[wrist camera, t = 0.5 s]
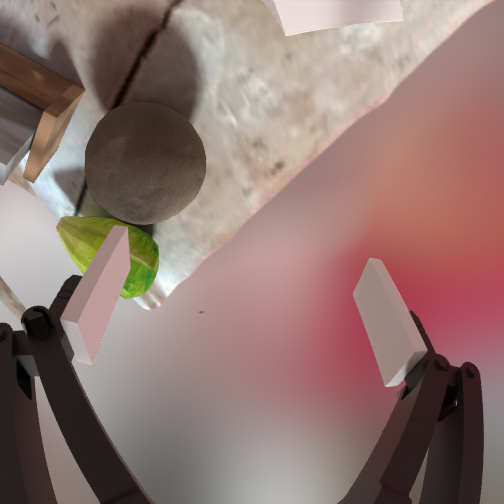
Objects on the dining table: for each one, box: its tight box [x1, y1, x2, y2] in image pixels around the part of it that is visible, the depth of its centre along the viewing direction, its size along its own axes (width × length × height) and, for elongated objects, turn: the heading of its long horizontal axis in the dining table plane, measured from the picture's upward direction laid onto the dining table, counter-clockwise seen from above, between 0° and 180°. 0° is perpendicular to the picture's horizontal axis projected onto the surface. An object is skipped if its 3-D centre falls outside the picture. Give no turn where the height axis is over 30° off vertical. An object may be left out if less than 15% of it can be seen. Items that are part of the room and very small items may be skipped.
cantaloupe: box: [85, 102, 206, 225], centre depth 32 cm, size 14×14×15 cm
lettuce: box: [56, 216, 159, 299], centre depth 48 cm, size 14×20×12 cm
